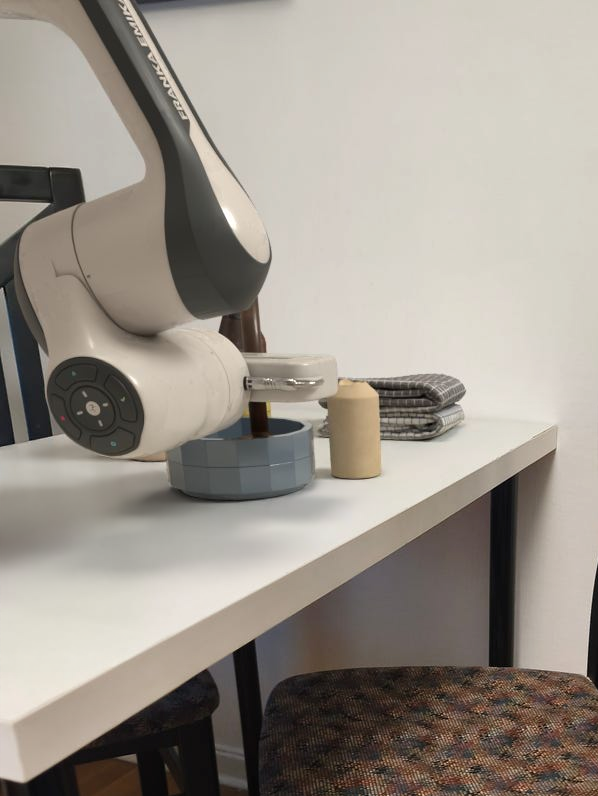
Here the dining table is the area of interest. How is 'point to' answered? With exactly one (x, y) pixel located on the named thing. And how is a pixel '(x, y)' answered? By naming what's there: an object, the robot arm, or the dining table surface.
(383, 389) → the towel
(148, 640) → the dining table surface
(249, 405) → the brown wooden pestle
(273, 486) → the bowl
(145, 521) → the dining table surface
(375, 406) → the candle
